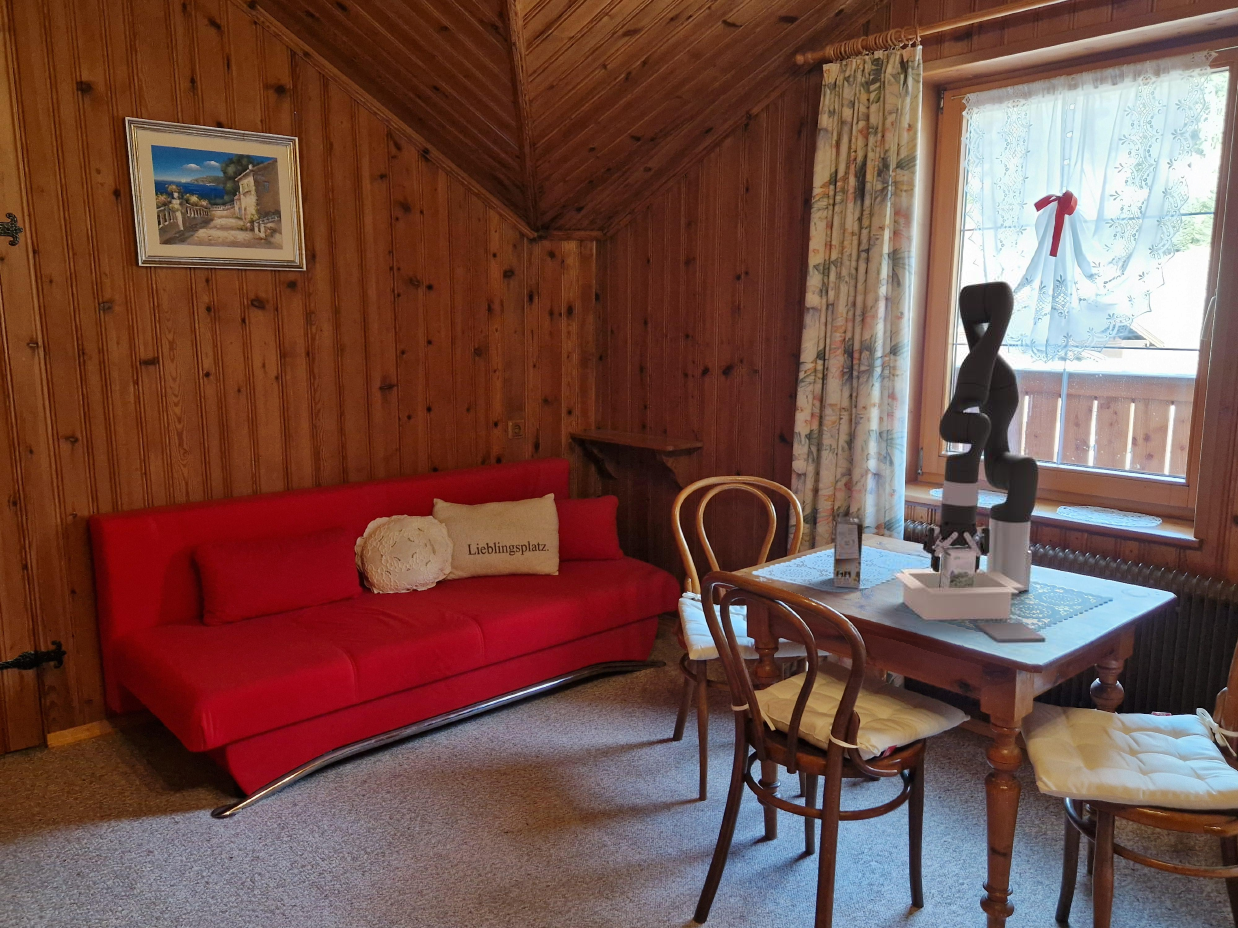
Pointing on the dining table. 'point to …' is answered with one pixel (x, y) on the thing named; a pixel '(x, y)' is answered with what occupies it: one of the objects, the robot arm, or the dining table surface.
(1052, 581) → the dining table surface
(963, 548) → the syrup box
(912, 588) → the carton
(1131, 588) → the dining table surface
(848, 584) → the coffee box
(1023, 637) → the coaster
